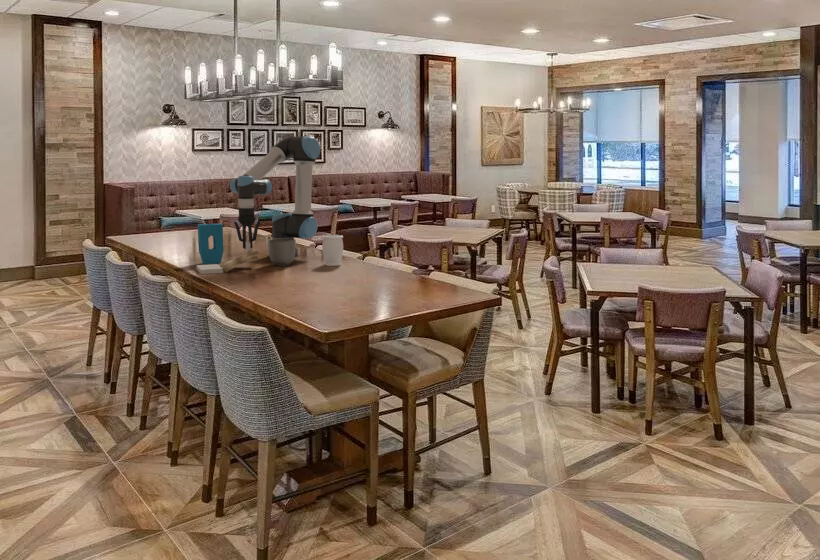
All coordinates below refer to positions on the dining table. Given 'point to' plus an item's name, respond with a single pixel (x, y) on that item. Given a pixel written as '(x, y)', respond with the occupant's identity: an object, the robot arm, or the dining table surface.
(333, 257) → the jar
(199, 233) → the block
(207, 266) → the floor board
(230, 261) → the plank
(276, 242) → the planter
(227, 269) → the plank
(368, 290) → the dining table surface
